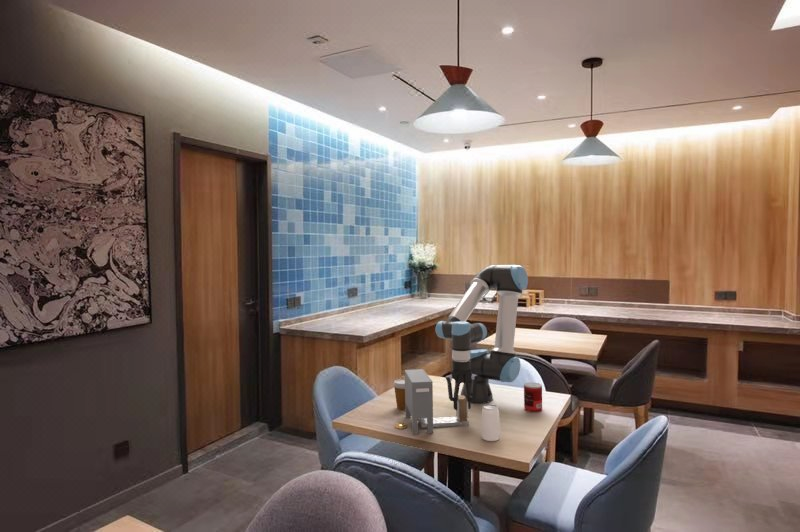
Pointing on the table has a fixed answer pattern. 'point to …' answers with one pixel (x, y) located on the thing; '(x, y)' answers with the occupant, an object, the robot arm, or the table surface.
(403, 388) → the disposable coffee cup
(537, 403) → the canned food
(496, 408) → the can
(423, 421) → the steel scraper
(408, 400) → the gray cabinet
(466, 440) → the table surface
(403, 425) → the brass token
